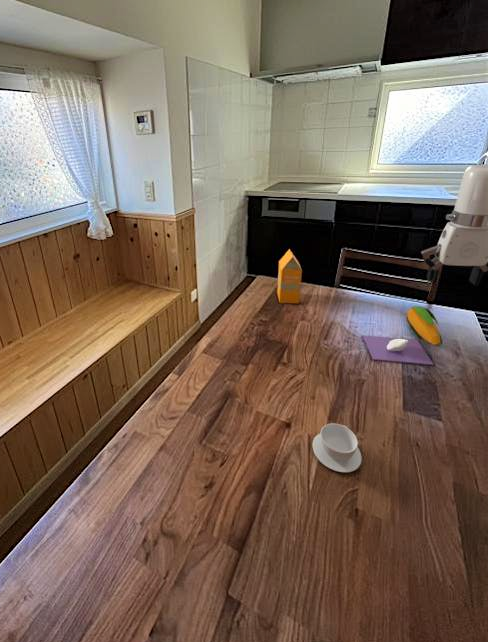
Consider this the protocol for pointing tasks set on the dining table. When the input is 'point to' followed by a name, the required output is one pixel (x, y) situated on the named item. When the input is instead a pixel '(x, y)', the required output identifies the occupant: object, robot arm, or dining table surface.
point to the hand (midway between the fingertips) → (452, 282)
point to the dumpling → (397, 345)
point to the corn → (424, 325)
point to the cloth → (408, 355)
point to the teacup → (337, 448)
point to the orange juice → (289, 279)
